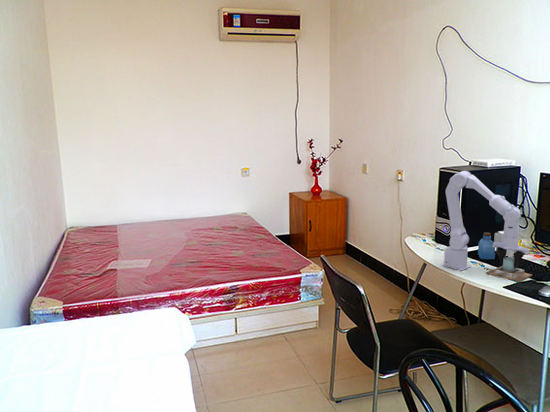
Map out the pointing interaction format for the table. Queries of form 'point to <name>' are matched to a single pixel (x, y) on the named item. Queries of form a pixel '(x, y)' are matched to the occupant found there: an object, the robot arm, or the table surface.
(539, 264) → the table surface
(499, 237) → the skincare box
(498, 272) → the collar board
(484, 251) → the perfume bottle
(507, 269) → the light blue cup
